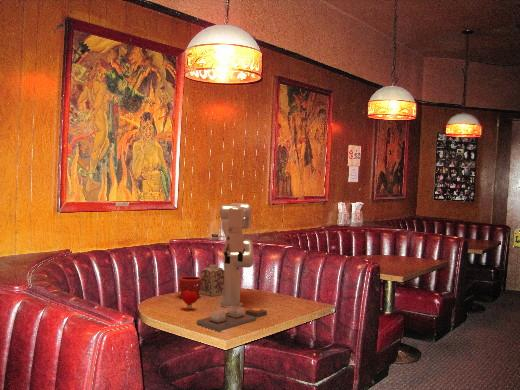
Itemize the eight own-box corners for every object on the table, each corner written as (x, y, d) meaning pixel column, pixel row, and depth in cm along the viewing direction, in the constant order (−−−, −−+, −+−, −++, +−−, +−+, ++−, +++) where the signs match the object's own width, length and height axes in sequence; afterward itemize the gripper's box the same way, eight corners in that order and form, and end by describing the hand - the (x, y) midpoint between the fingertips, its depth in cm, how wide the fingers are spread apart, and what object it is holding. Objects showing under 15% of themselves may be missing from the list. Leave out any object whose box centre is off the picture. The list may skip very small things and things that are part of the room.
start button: (250, 313, 272) (250, 309, 271) (255, 312, 275) (255, 307, 275) (256, 315, 269) (256, 310, 269) (261, 314, 272) (262, 309, 272)
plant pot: (204, 298, 306) (205, 278, 305) (184, 301, 299) (185, 280, 298) (195, 293, 317) (195, 274, 316) (175, 296, 310) (176, 276, 309)
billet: (210, 324, 251) (211, 312, 251) (217, 322, 255) (218, 310, 255) (217, 326, 248) (218, 314, 248) (225, 324, 252) (225, 312, 252)
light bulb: (199, 308, 282) (200, 291, 282) (193, 311, 276) (193, 293, 276) (185, 306, 286) (186, 288, 286) (178, 309, 280) (179, 291, 279)
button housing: (245, 316, 271) (245, 310, 271) (255, 313, 277) (255, 307, 277) (256, 319, 266) (256, 313, 266) (266, 316, 272) (266, 310, 272)
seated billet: (229, 319, 261) (229, 307, 261) (235, 317, 265) (236, 305, 265) (236, 321, 258) (236, 309, 258) (242, 319, 262) (243, 307, 261)
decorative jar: (212, 296, 311) (213, 267, 310) (199, 293, 319) (200, 264, 318) (226, 293, 320) (226, 265, 319) (213, 290, 328) (213, 262, 327)
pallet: (196, 325, 252) (197, 320, 252) (233, 315, 272) (233, 310, 272) (219, 332, 241) (219, 327, 241) (255, 322, 261) (256, 317, 261)
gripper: (228, 232, 261) (227, 265, 262) (251, 230, 275) (249, 261, 275) (218, 230, 266) (217, 263, 267) (240, 228, 279) (239, 259, 280)
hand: (233, 262), depth 271 cm, fingers open, 9 cm apart
